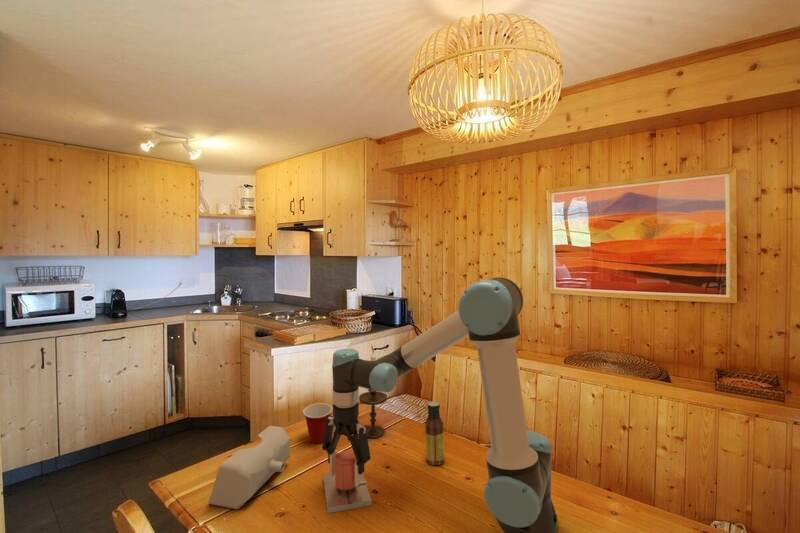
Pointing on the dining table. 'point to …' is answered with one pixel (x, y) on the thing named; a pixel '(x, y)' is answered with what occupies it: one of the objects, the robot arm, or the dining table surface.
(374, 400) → the candlestick
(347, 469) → the wire nut
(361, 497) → the plate
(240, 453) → the tank
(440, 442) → the sauce bottle
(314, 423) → the plastic cup
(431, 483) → the dining table surface
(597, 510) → the dining table surface
